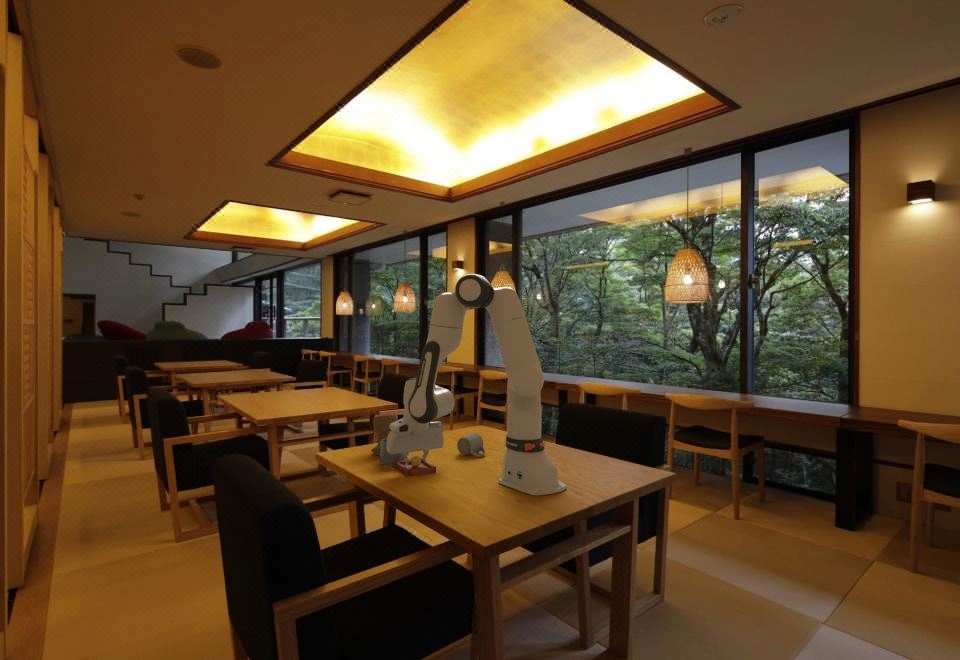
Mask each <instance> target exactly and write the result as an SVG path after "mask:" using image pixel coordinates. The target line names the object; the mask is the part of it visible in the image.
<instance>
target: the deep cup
mask: <svg viewBox="0 0 960 660" xmlns="http://www.w3.org/2000/svg"><path fill="white" fill-rule="evenodd" d="M386 447H387V438H385V439H383V440H381V441H380V456H379V464H381V465H382V466H387V467H395V462H398V461H405V458H404V456H403V455H402V453H400V454H393V455H392V454H390V453H389V452H388V451H387V448H386Z"/></svg>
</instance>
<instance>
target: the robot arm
mask: <svg viewBox="0 0 960 660" xmlns="http://www.w3.org/2000/svg"><path fill="white" fill-rule="evenodd" d="M479 308H485V309H486V310H487V312H488V314H489V315H490V319H491V323H492V328H493V330H494V333H495V336H496V341H497V344H498V349H499V351H500V355H501V359H502V362H503V366H504V369H505V372H506V376H507V427H506V429H507V433H506V435H505V447H506V450H505V453H504V455H503V458H502V466H501V474H500V475H501V476H500V478H499V479H498V484H500V485H503V486H506V487H509V488H511V489H513V490H516V491H519V492H520V493H521V492H522V493H525V494H527V495H529V496H546V495H553V494H557V493H560V492H563V491H565V490H566V489H567V485H566V484H565V483H563V482H562V481H561V480H559V477H560V476H559V469H558V466H557V464H556V463H555V462H553V460H552V459H551V457H550V456H549V454H547V452H546V450H545V446H547V445H546V444H547V442H546V441H544V439H543V437H542V399H541V398H542V396H541V390H542V389H543V386H544V383H545V375H544V373H543V369H542V366H541V362H540V359H539V356H538V353H537V351H536V347H535V344H534V341H533V338H532V334H531V331H530V327H529V323H528V321H527V317H526V313H525V310H524V307H523V305H522V302H521V300H520V297H519V295H518V293H517V292H516V290H515V289H513V288H512V287H508V286H501V287H494V286H493V285H492V283H491V282H490V281H489V279H487V278H486V277H485V276H483V275H481V274H477V273H473V272H472V273H466V274H464V275H462V276H460V278H459V279H458V280H457V281H456V284H455V288H454V291H453V292H443V293H440V294H438V295H437V296H436V297H435V301H434V303H433V307H432V311H431V314H430V315H431V316H430V321H429V329H428V335H427V339H426V341H425V345H424V346H423V349H422V352H421V356H420V360H419V364H418V365H419V366H418V369H417V374H416V377H413V378H408V379H407V380H406V381H405V384H404V389H403V405H404V411H403V415H402V418H400V419H398V421H395V422H393V423H391V424H390V429H391V431H390V432H389V434H388V437H387V447H386V448H387V451H388V452H389V453H390V454H392V455H393V454H400V453H402V455H403V456H404V458H405V463H406V465H411V458H409V453H414V452H420V451H421V452H423V453H422V456H419V457H420V458H421V463H425V462H426V461H427V460H426V459H427V457H428V455H429V453H430V450H436V449H438V450H439V449H442V448H443V447H444V443H445V442H444V439H445V438H444V433H443V432H444V424H443V423H442V422H440V421H434V420H436V419H439V418H442V417H444V416H447V415H449V414H451V413H452V412H453V411H454V409H455V406H456V405H455V404H456V399H455V396H454V394H453V392H452V391H451V390H450V389H448V388H444V387H441V386H439V385H437V384H436V382H437V376H438V373H439V368H440V365H441V364H442V362H443V361H444V360H445V359H446V358H447V357H448V356H449V355H450V354H453V352H455V351H456V350H457V349H458V348H459V347H460V344H461V342H462V339H463V338H462V337H463V332H464V331H463V330H464V322H465V320H464V319H465V316H466V313H467V311H470V310H475V309H479ZM433 421H434V422H433Z"/></svg>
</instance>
